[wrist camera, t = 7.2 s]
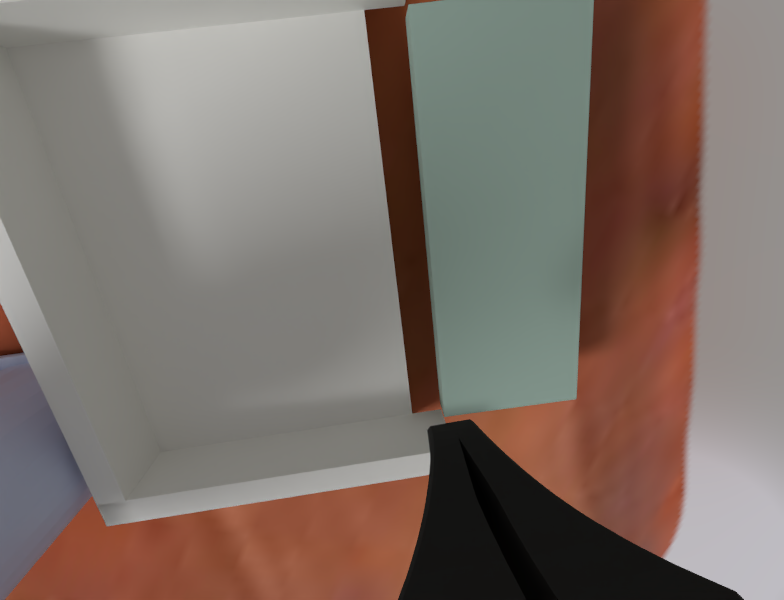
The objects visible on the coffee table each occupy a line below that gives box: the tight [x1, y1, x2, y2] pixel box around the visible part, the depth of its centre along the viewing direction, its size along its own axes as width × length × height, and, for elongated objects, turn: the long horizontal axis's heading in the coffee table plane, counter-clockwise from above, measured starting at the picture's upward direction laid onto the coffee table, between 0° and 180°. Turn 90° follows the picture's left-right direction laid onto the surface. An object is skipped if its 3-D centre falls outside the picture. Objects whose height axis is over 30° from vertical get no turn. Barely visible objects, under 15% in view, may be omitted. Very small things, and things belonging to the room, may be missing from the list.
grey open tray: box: [0, 0, 446, 526], centre depth 16 cm, size 16×20×4 cm
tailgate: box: [406, 0, 594, 417], centre depth 16 cm, size 1×17×6 cm
